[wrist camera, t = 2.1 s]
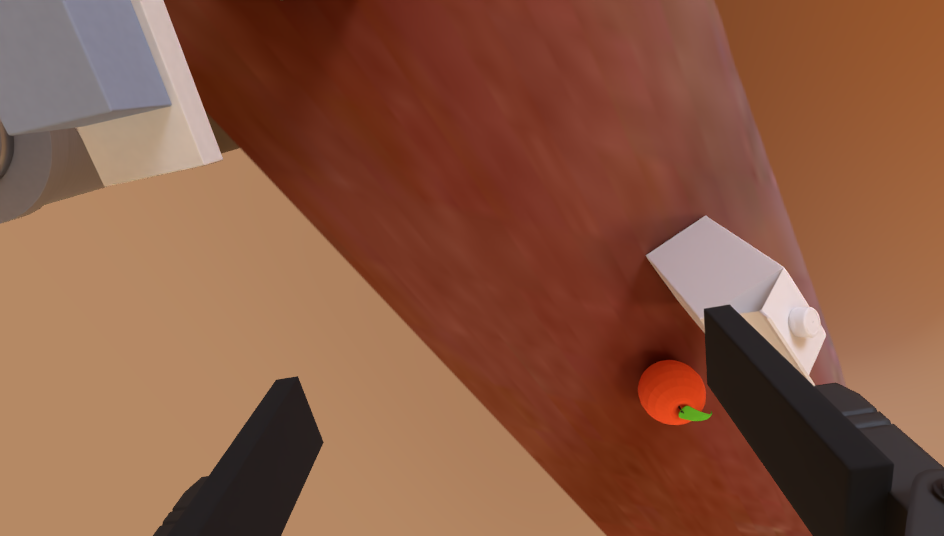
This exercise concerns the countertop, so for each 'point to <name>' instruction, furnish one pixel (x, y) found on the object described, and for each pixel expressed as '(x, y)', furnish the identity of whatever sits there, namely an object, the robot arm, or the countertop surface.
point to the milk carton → (740, 288)
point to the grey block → (104, 84)
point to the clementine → (672, 393)
